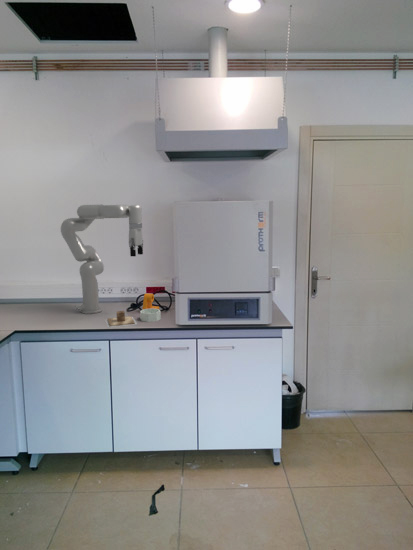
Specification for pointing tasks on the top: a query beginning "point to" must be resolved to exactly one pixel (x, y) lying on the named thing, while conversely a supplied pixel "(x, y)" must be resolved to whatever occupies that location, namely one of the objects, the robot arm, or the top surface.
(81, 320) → the top surface
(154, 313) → the bowl
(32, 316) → the top surface
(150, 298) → the bracket
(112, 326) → the mat
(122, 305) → the top surface
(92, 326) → the top surface
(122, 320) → the lid
